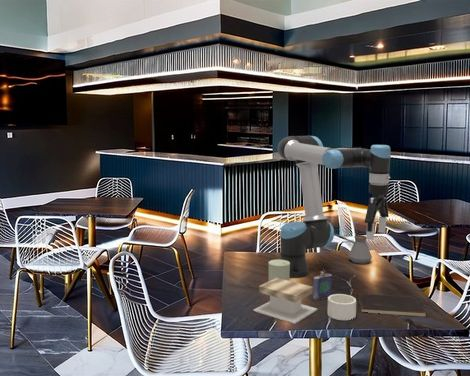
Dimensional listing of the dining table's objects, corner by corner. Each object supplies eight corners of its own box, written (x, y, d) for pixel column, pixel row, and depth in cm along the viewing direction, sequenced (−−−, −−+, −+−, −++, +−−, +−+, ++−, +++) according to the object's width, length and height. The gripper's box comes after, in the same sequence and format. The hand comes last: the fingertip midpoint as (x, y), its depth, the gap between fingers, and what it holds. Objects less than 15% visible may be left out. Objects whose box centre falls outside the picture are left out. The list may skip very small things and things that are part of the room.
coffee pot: (368, 258, 245) (369, 230, 243) (374, 265, 234) (375, 235, 231) (327, 257, 246) (328, 229, 244) (330, 264, 234) (331, 235, 232)
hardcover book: (426, 318, 172) (426, 312, 171) (361, 314, 176) (361, 308, 175) (416, 302, 187) (417, 296, 187) (357, 298, 191) (357, 292, 191)
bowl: (322, 315, 173) (323, 299, 172) (335, 307, 181) (335, 292, 180) (347, 322, 167) (348, 306, 166) (359, 313, 174) (360, 298, 174)
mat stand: (253, 311, 177) (253, 293, 176) (277, 298, 189) (277, 282, 188) (294, 324, 165) (294, 305, 164) (317, 310, 178) (317, 292, 177)
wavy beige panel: (258, 292, 177) (259, 285, 176) (276, 283, 186) (277, 277, 185) (295, 302, 167) (295, 295, 166) (312, 293, 176) (312, 286, 175)
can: (283, 294, 194) (284, 266, 192) (264, 289, 199) (264, 262, 197) (293, 287, 202) (293, 260, 200) (274, 283, 207) (274, 257, 205)
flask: (315, 300, 187) (316, 274, 186) (310, 298, 190) (311, 272, 188) (333, 296, 192) (333, 270, 190) (328, 294, 194) (328, 268, 193)
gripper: (377, 188, 175) (374, 243, 179) (398, 181, 195) (395, 231, 198) (357, 186, 180) (355, 240, 183) (380, 179, 200) (377, 228, 203)
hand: (376, 235), depth 191 cm, fingers open, 13 cm apart
